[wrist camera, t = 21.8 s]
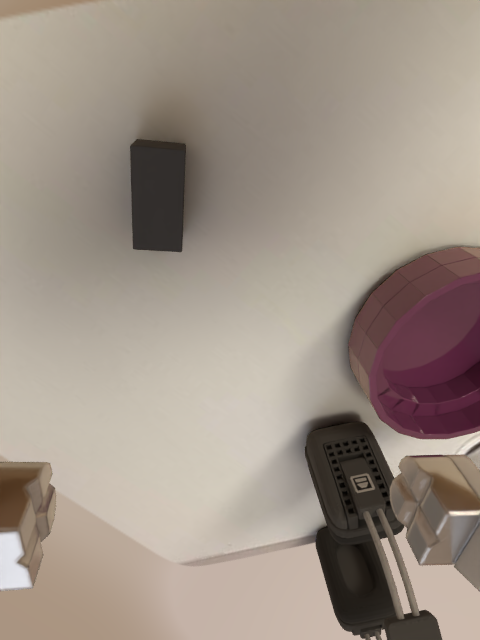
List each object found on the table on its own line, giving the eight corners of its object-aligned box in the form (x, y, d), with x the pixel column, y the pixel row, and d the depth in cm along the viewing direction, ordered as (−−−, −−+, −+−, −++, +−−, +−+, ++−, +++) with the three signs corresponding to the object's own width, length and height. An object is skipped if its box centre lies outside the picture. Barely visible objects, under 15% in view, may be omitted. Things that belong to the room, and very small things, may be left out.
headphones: (299, 420, 38) (394, 697, 21) (365, 406, 38) (514, 671, 21) (315, 553, 49) (385, 805, 32) (366, 542, 49) (463, 787, 32)
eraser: (136, 138, 25) (130, 144, 22) (185, 143, 25) (185, 150, 23) (137, 234, 28) (132, 249, 25) (182, 237, 28) (181, 252, 25)
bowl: (373, 238, 30) (404, 263, 25) (554, 250, 32) (611, 276, 28) (329, 399, 37) (348, 440, 33) (479, 400, 39) (515, 438, 35)
